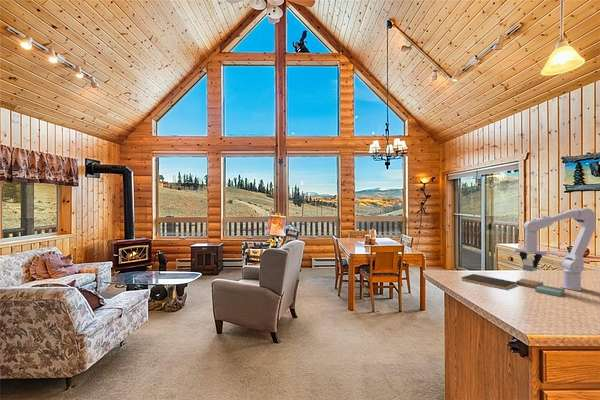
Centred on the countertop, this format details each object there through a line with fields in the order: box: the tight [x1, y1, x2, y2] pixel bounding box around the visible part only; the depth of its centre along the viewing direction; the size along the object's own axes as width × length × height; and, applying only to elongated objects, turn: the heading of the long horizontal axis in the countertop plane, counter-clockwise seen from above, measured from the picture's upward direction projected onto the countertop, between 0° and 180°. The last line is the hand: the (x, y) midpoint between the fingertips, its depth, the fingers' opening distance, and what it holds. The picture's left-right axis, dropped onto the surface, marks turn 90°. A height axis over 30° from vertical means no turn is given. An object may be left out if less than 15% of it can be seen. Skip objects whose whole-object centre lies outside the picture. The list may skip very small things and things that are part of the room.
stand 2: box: [534, 284, 566, 297], centre depth 165 cm, size 10×10×2 cm
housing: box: [522, 257, 538, 272], centre depth 179 cm, size 8×4×6 cm, turn 128°
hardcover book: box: [461, 273, 517, 290], centre depth 183 cm, size 16×23×2 cm
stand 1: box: [515, 278, 544, 289], centre depth 179 cm, size 10×10×2 cm
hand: (530, 266), depth 179 cm, fingers closed on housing, 4 cm apart
